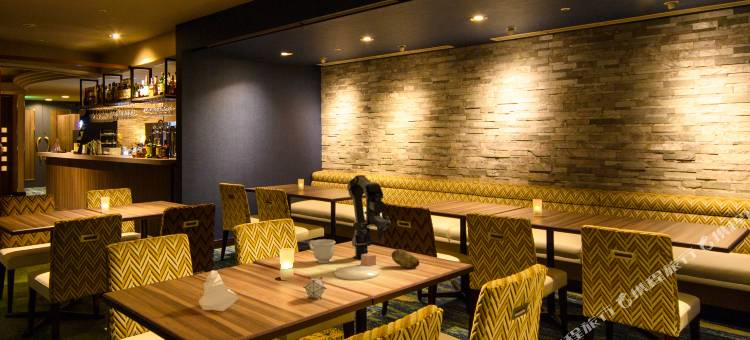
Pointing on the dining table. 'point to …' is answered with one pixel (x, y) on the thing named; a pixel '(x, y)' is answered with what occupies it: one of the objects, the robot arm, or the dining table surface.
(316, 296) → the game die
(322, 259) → the teacup
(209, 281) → the cream irregular lump
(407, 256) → the potato
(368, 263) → the block
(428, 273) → the dining table surface
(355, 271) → the plate
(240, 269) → the dining table surface
